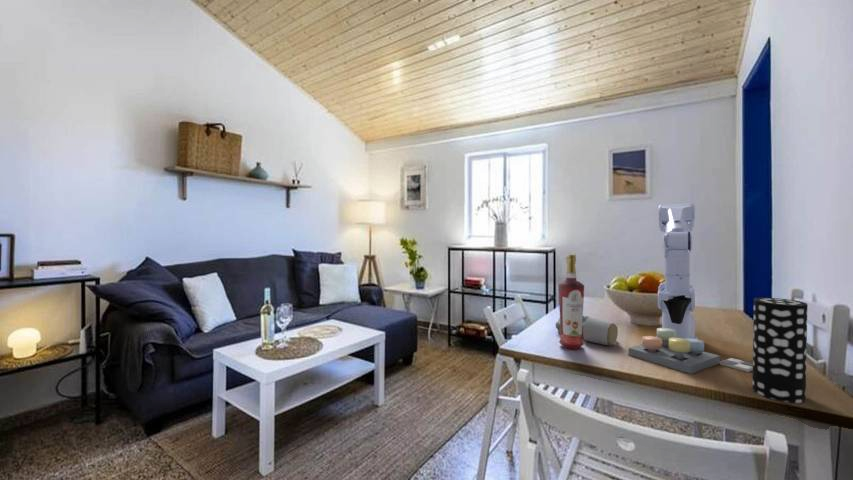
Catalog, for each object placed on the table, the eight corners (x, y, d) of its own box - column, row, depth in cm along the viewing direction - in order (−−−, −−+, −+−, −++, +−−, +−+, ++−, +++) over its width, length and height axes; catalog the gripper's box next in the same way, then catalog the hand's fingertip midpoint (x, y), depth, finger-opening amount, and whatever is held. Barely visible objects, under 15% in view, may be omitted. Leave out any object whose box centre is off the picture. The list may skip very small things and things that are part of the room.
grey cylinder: (609, 349, 110) (609, 323, 110) (582, 343, 116) (582, 318, 116) (622, 341, 118) (623, 317, 117) (596, 336, 124) (596, 313, 123)
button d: (674, 354, 100) (674, 336, 100) (693, 359, 96) (693, 341, 96) (664, 357, 98) (665, 339, 97) (684, 362, 94) (684, 344, 93)
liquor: (563, 351, 109) (563, 255, 108) (554, 343, 116) (554, 254, 115) (588, 350, 109) (588, 255, 108) (578, 343, 116) (578, 253, 115)
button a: (662, 343, 109) (662, 327, 109) (679, 347, 105) (679, 330, 105) (653, 345, 107) (653, 329, 107) (670, 350, 103) (670, 333, 103)
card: (730, 360, 100) (730, 357, 100) (759, 367, 95) (759, 364, 95) (719, 364, 97) (719, 361, 97) (748, 372, 92) (748, 369, 92)
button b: (688, 354, 103) (688, 337, 103) (707, 359, 99) (707, 341, 99) (679, 357, 101) (679, 340, 101) (698, 362, 97) (698, 344, 97)
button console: (657, 346, 112) (657, 339, 112) (719, 363, 98) (719, 355, 98) (628, 354, 105) (628, 347, 105) (691, 373, 91) (691, 365, 91)
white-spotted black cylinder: (742, 386, 84) (743, 298, 83) (776, 384, 84) (777, 297, 84) (780, 404, 75) (782, 306, 75) (817, 401, 76) (819, 304, 75)
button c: (648, 351, 106) (648, 335, 106) (665, 356, 102) (665, 339, 102) (638, 354, 104) (638, 337, 104) (655, 359, 100) (655, 341, 100)
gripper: (678, 278, 96) (678, 330, 97) (706, 274, 103) (705, 322, 104) (651, 275, 102) (650, 324, 103) (678, 271, 110) (678, 317, 110)
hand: (676, 323), depth 104 cm, fingers closed
